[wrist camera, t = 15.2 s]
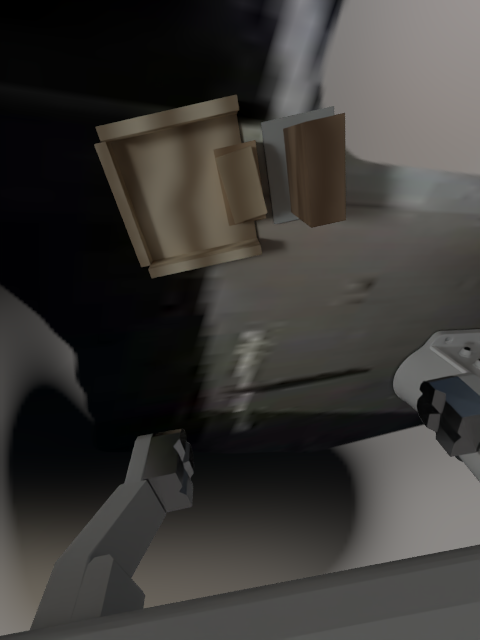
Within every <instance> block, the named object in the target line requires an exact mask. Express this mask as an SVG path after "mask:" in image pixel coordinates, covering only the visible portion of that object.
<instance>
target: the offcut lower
mask: <svg viewBox="0 0 480 640" xmlns="http://www.w3.org/2000/svg"><path fill="white" fill-rule="evenodd" d="M249 146H251V148H252V152H253V156H254V160H255V164H256V168H257V172H258V176H259V181H260V185H261V189H262V184H261V177H260V170H259V163H258V156H257V149H256V141H255V140H254V141H249V142H245V143H240V144H236V145H231V146H227V147H223V148H218V149H214V150H213V151H214V156H215V158H217V157H220V156H223V155H226V154H229V153H232V152H234V151H237V150H240V149H243V148H246V147H249ZM215 161H216V159H215ZM216 166H217V162H216ZM217 171H218V175H219V180H220V185H221V190H222V195H223V200H224V204H225V209H226V214H227V219H228V223H229V226H232V225H237V224H241V223H246V222H250V221H255V220H259V219H264V218H266V214H263V215H261V216H258V217H255V218H252V219H249V220H246V221H243V222H240V223H237V224H235V221H234V218H233V215H232V212H231V208H230V205H229V202H228V199H227V195H226V192H225V189H224V185H223V182H222V179H221V176H220V172H219V169H218V166H217ZM262 193H263V191H262Z"/></svg>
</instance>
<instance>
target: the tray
mask: <svg viewBox="0 0 480 640" xmlns="http://www.w3.org/2000/svg"><path fill="white" fill-rule="evenodd" d="M238 111H239V106H238V100H237V95H233V96H229V97H224V98H220V99H215V100H211V101H207V102H202V103H198V104H194V105H189V106H185V107H180V108H176V109H172V110H167V111H163V112H159V113H154V114H150V115H145V116H141V117H137V118H132V119H128V120H124V121H119V122H115V123H111V124H106V125H102V126H97V127H96V130H97V133H98V136H99V138H100V141H103V142H102V143H98V144H94V145H95V148H96V151H97V153H98V156H99V158H100V161H101V164H102V166H103V169H104V171H105V174H106V177H107V179H108V182H109V184H110V187H111V190H112V192H113V195H114V197H115V200H116V203H117V205H118V208H119V210H120V213H121V216H122V218H123V221H124V223H125V226H126V229H127V231H128V234H129V236H130V239H131V242H132V244H133V247H134V249H135V252H136V255H137V257H138V260H139V262H140V265H141V267H144V266H149V265H150V267H149V269H148V270H149V272H150V275H151V278H155V277H160V276H164V275H169V274H174V273H178V272H183V271H187V270H192V269H197V268H201V267H206V266H210V265H215V264H220V263H224V262H229V261H233V260H238V259H243V258H247V257H252V256H256V255H261V254H262V251H261V245H260V243H259V241H258V239H257V236H256V229H255V223H254V221H250V222H246V223H241V224H237V225H232V226H229V223H228V219H227V214H226V209H225V204H224V200H223V195H222V190H221V185H220V180H219V175H218V171H217V166H216V161H215V156H214V151H213V150H214V149H218V148H223V147H227V146H231V145H236V144H240V143H241V138H240V132H239V125H238V119H237V112H238Z"/></svg>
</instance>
